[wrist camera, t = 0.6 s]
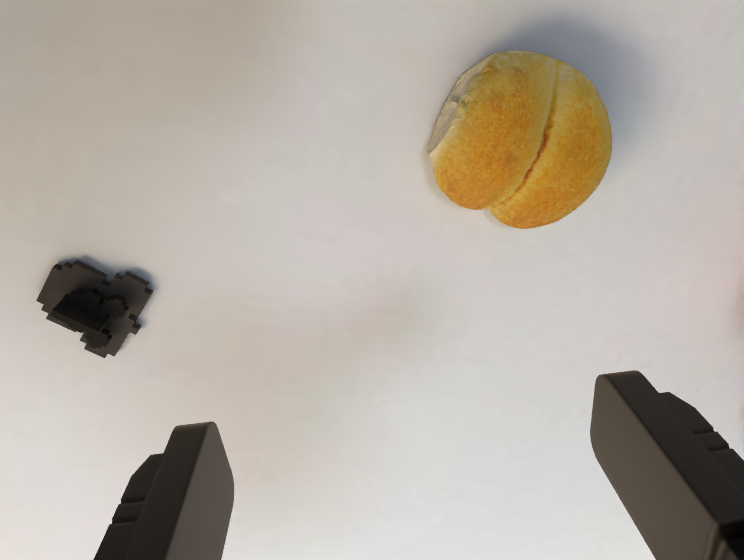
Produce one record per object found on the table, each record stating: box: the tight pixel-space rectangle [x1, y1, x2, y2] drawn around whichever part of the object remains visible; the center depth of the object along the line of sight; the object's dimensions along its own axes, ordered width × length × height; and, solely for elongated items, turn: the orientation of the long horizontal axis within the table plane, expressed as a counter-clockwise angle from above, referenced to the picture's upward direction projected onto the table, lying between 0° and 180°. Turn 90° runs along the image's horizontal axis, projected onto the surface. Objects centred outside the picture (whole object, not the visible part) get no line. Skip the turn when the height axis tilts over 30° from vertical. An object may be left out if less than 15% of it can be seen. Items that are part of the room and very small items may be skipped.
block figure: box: [36, 260, 153, 358], centre depth 29 cm, size 6×2×6 cm
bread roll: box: [427, 50, 612, 229], centre depth 26 cm, size 8×9×4 cm
